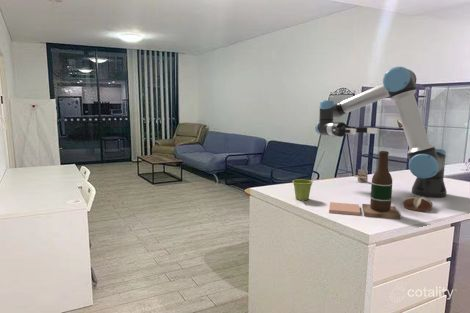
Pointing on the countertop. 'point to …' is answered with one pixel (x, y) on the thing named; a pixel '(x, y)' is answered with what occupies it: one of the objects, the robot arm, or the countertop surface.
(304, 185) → the plant pot
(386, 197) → the beer bottle
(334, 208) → the terracotta tile
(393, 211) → the walnut board
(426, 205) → the bread
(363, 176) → the architectural model
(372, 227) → the countertop surface
